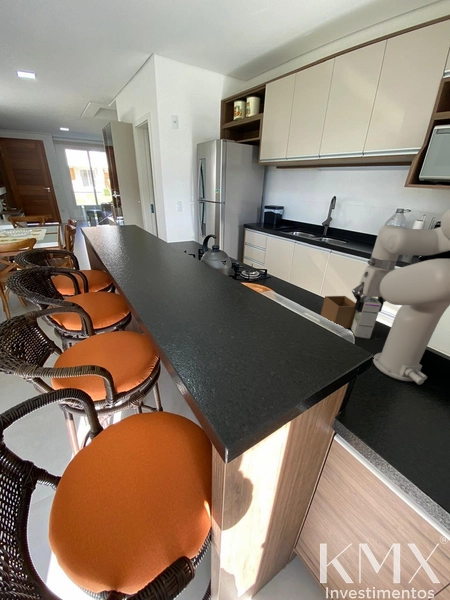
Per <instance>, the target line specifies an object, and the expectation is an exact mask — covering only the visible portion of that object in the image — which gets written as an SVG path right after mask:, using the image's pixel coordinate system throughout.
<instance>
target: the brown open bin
mask: <svg viewBox="0 0 450 600" xmlns="http://www.w3.org/2000/svg"><path fill="white" fill-rule="evenodd" d="M355 304H356V301H353V300H352V299H351V298H349V297H348V296H346V295H325V296H324V299H323V302H322V307H321V310H320V311H321V312H320V315H321V316H323V317H325V318H327V319H328V320H330V321H333V322H334V323H336V324H339V325H341V326H343V327H344V328H343V329H351V327H352V323H353V320H354V317H355V313H356V310H355V309H354V308H355Z"/></svg>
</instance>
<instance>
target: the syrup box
mask: <svg viewBox="0 0 450 600" xmlns="http://www.w3.org/2000/svg"><path fill="white" fill-rule="evenodd" d="M362 296H363V295H362ZM362 296H361V297H362ZM377 299H378V298H377V297H366V298H365V300H364V301H363V302H364V305H363V308H362V312H358V311H356V313H355V317H354V320H353V323H352V327H351V328H350V330H351V332H352V334H353V337H355V338H361V339H362V338H363V339H371V337H372V333H373V331H374V328H375V326H376V325H375V324H376V322H377V319H378V316H379V313H380V312H379V310H380V307H381V303H380V302H379V301H378V300H377Z"/></svg>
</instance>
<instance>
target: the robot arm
mask: <svg viewBox="0 0 450 600" xmlns="http://www.w3.org/2000/svg"><path fill="white" fill-rule="evenodd" d="M449 251H450V208H449V209H448V210H446V211H445V212H444V213H443V215H442V216H441V219H440V226H439V227H436V228H432V229H425V228H406V227H404V226H400V225H393V224H392V225H391V224H386V225H382V226H381V227H380V228H379V230H378V233H377V236H376V240H375V244H374V246H373V250H372V253H371V256H370V259H368V260H367V266H366V268H365V269H364V271H363V274H362V276H361V278H360V281H359V284H358V285H357V286H356V287H354V288H352V289H351V293H352V295H353V297H354V298H355V303H356V304H355V308H354V309H355V310H356V311H358V312H362V308H363V305H364V302H363V301H364V300H365V298H366V297H374V298H376V299H377V300H378V301H379V302H380V303H381V307H380V310H379V313H381V312H382V309H383V307H384V303H386V302H387V303H388V304H391V305H395V306H400V307H399V309H398V310H397V312H396V314H395V316H394V319H393V321H392V323H391V324H392V325H391V327H390V330H389V331H388V335H387V337H386V339H385V343H384V345H383V347H382V350H381V352H378V353H376V354H374V356H373V358H374V359H373V358H372V362H373V364H374V365H375V367H376V368H377V369H378V370H379V371H380V372H382V373H383V374H385V375H387V376H389V377H391V378H393V379H395V380H399V381H402V382H403V381H404V382H415V383H416V384H417V385H422V384H423V383H424V382H425V381H426V380H427V379H428V376H427V375H426V374H425V373H423V372H422V371H421V369H422V367H423V365H422V364H421V363H420V362H421V360H422V358H423V356H424V354H425V352H426V349H427V347H428V345H429V342H430V341H431V339H432V336H433V334H434V332H435V330H436V328H437V326H438V324H439V322H440V321H441V320H440V319H441V318H442V316H443V315H444V313H445V312H446V310H447V309H448V308H449V307H450V258H434V259H433V258H432V259H427V260H423V261H420V262H419V261H418V262H416V263H413V264H409V265H406V266H402V267H398V268H395V267H396V266H397V262H398V260H399V259H398V258H399V257H400V256H434V255H438V254H441V253H445V252H449ZM361 296H362V297H361Z"/></svg>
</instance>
